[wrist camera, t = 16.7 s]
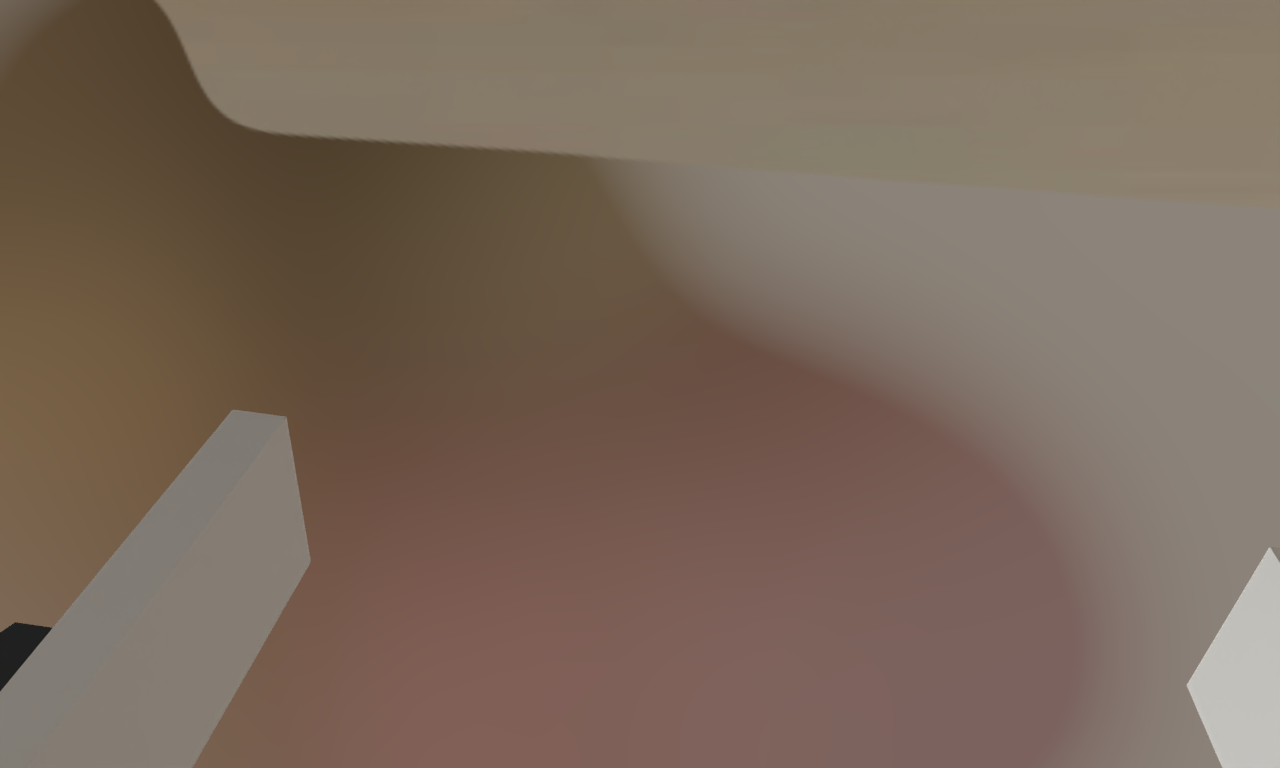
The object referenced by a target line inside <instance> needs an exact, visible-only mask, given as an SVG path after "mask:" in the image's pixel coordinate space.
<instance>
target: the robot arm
mask: <svg viewBox="0 0 1280 768" xmlns="http://www.w3.org/2000/svg"><path fill="white" fill-rule="evenodd" d="M310 562H311V561H310V554H309V548H308V542H307V536H306V530H305V525H304V519H303V513H302V507H301V501H300V495H299V489H298V483H297V477H296V471H295V465H294V459H293V453H292V447H291V442H290V436H289V430H288V424H287V418H286V417H284V416H276V415H269V414H260V413H253V412H245V411H238V410H232V411H231V412H230V414H229V415H228V416H227V417H226V419H225V420H224V421H223V422H222V423H221V424H220V426H219V427H218V428H217V429H216V431H215V432H214V433H213V434H212V435H211V437H210V438H209V439H208V440H207V441H206V443H205V444H204V445H203V446H202V447H201V449H200V450H199V451H198V452H197V454H196V455H195V456H194V457H193V458H192V460H191V461H190V462H189V463H188V465H187V466H186V467H185V468H184V470H183V471H182V472H181V473H180V474H179V475H178V477H177V478H176V479H175V480H174V482H173V483H172V484H171V485H170V486H169V488H168V489H167V490H166V491H165V492H164V494H163V495H162V496H161V497H160V498H159V500H158V501H157V502H156V503H155V504H154V506H153V507H152V508H151V509H150V511H149V512H148V513H147V514H146V515H145V517H144V518H143V519H142V520H141V521H140V523H139V524H138V525H137V526H136V528H135V529H134V530H133V531H132V532H131V534H130V535H129V536H128V537H127V539H126V540H125V541H124V542H123V543H122V545H121V546H120V547H119V548H118V549H117V551H116V552H115V553H114V554H113V556H112V557H111V558H110V559H109V560H108V562H107V563H106V564H105V565H104V566H103V568H102V569H101V570H100V571H99V572H98V574H97V575H96V576H95V577H94V579H93V580H92V581H91V582H90V583H89V585H88V586H87V587H86V588H85V589H84V591H83V592H82V593H81V594H80V595H79V597H78V598H77V599H76V600H75V602H74V603H73V604H72V605H71V606H70V608H69V609H68V610H67V611H66V612H65V614H64V615H63V616H62V617H61V619H60V620H59V621H58V622H57V624H56V625H55V626H54V627H53V628H50V627H43V626H35V625H29V624H22V623H14V624H12V625H11V626H9V627H8V628H7V629H5V630H4V631H2V632H0V768H192V767H193V765H194V764H195V762H196V760H197V758H198V757H199V755H200V753H201V751H202V750H203V748H204V746H205V745H206V743H207V741H208V739H209V738H210V736H211V734H212V732H213V731H214V729H215V727H216V725H217V724H218V722H219V720H220V718H221V717H222V715H223V713H224V711H225V710H226V708H227V706H228V705H229V703H230V701H231V699H232V698H233V696H234V694H235V692H236V691H237V689H238V687H239V685H240V684H241V682H242V680H243V678H244V677H245V675H246V673H247V671H248V670H249V668H250V666H251V665H252V663H253V661H254V659H255V658H256V656H257V654H258V652H259V651H260V649H261V647H262V645H263V644H264V642H265V640H266V639H267V636H268V635H269V633H270V632H271V630H272V628H273V626H274V624H275V623H276V621H277V619H278V618H279V616H280V614H281V612H282V611H283V609H284V607H285V605H286V604H287V602H288V600H289V599H290V597H291V595H292V593H293V591H294V590H295V588H296V586H297V584H298V583H299V581H300V579H301V578H302V576H303V574H304V572H305V571H306V569H307V567H308V566H309V564H310ZM1187 687H1188V689H1189V692H1190V694H1191V697H1192V699H1193V701H1194V703H1195V706H1196V708H1197V710H1198V713H1199V715H1200V717H1201V720H1202V722H1203V724H1204V727H1205V729H1206V731H1207V733H1208V736H1209V738H1210V740H1211V743H1212V745H1213V747H1214V750H1215V752H1216V754H1217V757H1218V759H1219V761H1220V763H1221V766H1222V768H1280V548H1276V547H1269V549H1268V550H1267V552H1266V554H1265V555H1264V557H1263V559H1262V561H1261V562H1260V564H1259V565H1258V567H1257V569H1256V570H1255V572H1254V574H1253V576H1252V577H1251V579H1250V580H1249V582H1248V584H1247V585H1246V587H1245V589H1244V591H1243V592H1242V594H1241V596H1240V597H1239V599H1238V601H1237V602H1236V604H1235V606H1234V607H1233V609H1232V611H1231V612H1230V614H1229V616H1228V617H1227V619H1226V621H1225V622H1224V624H1223V626H1222V627H1221V629H1220V631H1219V632H1218V634H1217V636H1216V637H1215V639H1214V641H1213V642H1212V644H1211V646H1210V647H1209V649H1208V651H1207V652H1206V654H1205V656H1204V657H1203V659H1202V661H1201V662H1200V664H1199V666H1198V667H1197V669H1196V671H1195V672H1194V674H1193V676H1192V677H1191V679H1190V681H1189V682H1188V684H1187Z"/></svg>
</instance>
